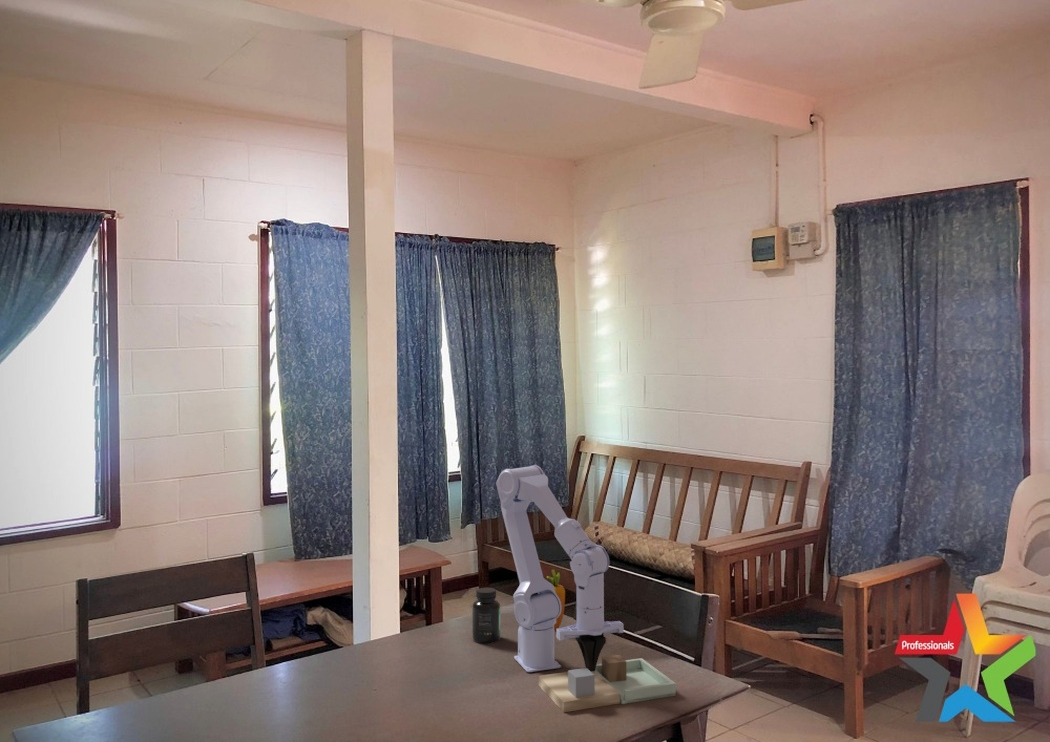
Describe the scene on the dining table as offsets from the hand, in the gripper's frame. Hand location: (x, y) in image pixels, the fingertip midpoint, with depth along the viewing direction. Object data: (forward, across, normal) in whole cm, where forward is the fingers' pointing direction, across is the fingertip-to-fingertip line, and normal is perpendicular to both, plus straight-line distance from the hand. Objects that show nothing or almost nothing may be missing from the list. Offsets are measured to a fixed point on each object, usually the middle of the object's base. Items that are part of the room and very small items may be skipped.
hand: (590, 669), depth 177 cm
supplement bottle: (+3, -13, +34) cm, 36 cm away
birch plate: (+3, -4, -4) cm, 7 cm away
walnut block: (0, +3, 0) cm, 3 cm away
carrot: (+3, +5, +34) cm, 35 cm away
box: (+3, +8, -4) cm, 9 cm away
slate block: (+1, -6, -8) cm, 10 cm away
